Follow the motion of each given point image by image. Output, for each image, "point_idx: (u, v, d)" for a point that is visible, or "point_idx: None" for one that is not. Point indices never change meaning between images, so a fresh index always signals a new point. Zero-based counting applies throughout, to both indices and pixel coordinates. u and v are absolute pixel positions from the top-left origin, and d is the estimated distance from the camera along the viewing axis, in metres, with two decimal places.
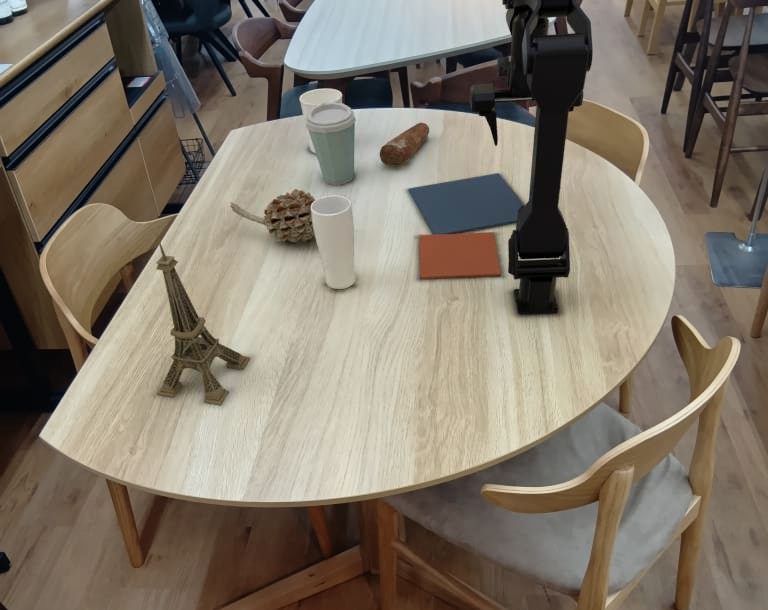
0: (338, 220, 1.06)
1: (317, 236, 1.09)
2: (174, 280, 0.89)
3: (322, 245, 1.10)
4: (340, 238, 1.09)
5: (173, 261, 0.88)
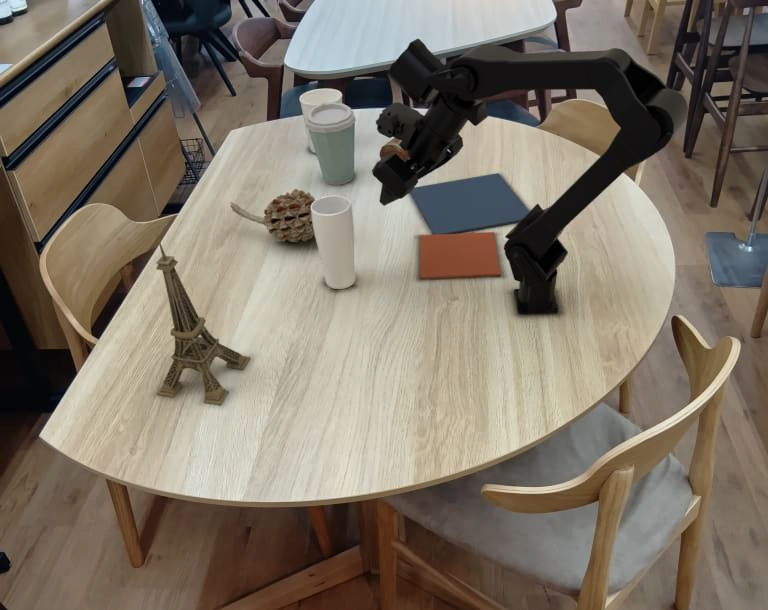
0: (338, 220, 1.06)
1: (317, 236, 1.09)
2: (174, 280, 0.89)
3: (322, 245, 1.10)
4: (340, 238, 1.09)
5: (173, 261, 0.88)
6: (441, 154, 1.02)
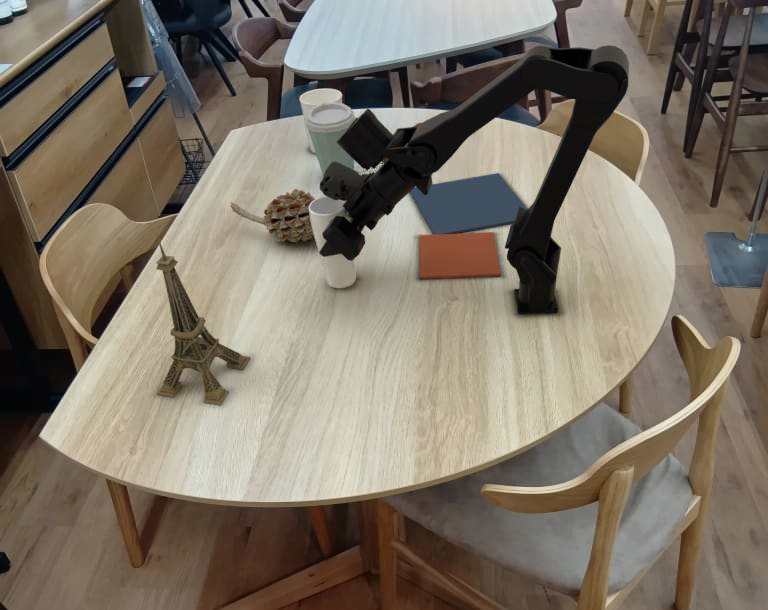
0: None
1: (316, 236, 1.10)
2: (174, 280, 0.89)
3: (322, 245, 1.10)
4: None
5: (173, 261, 0.88)
6: (383, 215, 1.06)
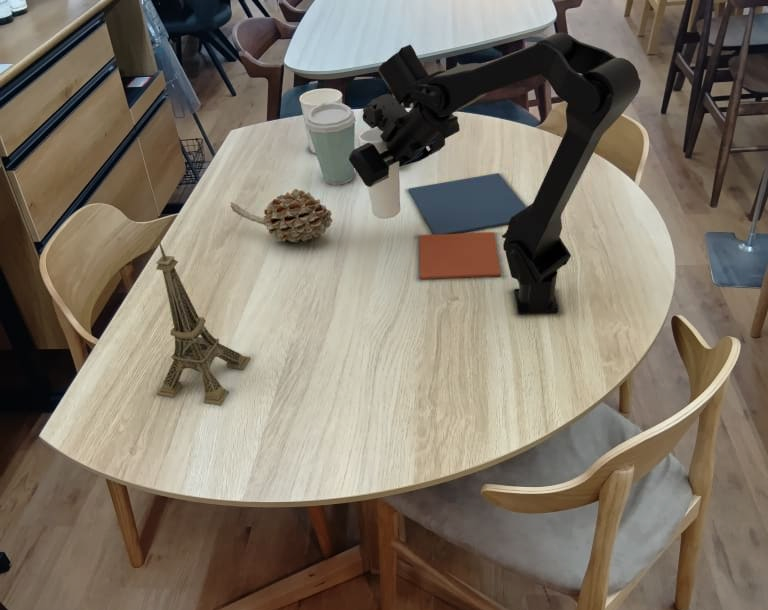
0: None
1: None
2: (174, 280, 0.89)
3: None
4: None
5: (173, 261, 0.88)
6: (415, 153, 1.10)
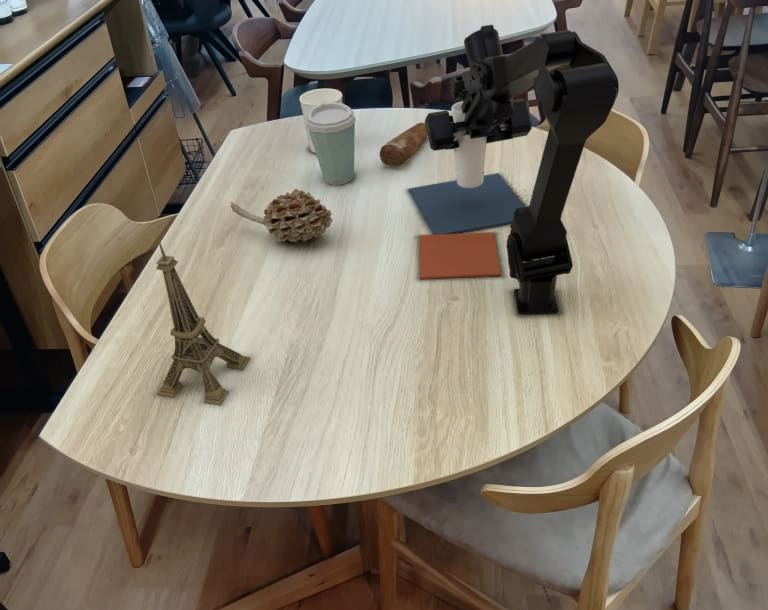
0: (459, 118, 1.21)
1: None
2: (174, 280, 0.89)
3: None
4: None
5: (173, 261, 0.88)
6: (483, 130, 1.16)
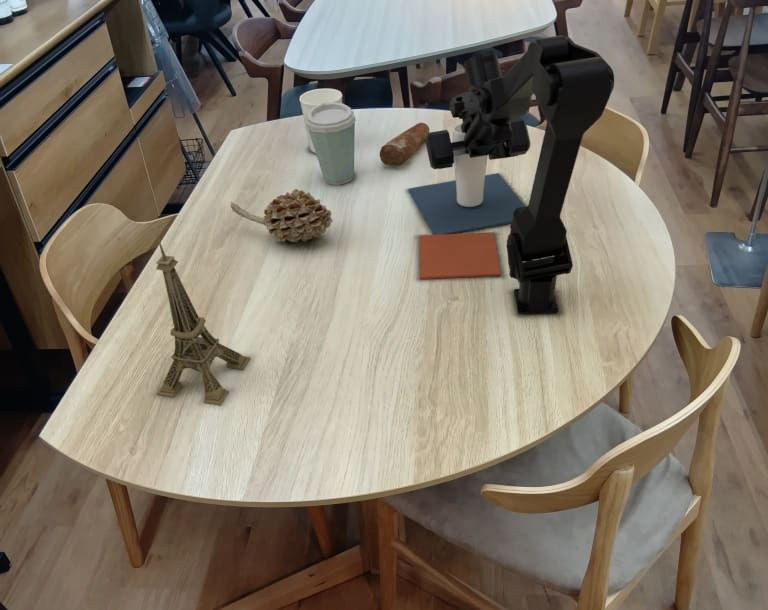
0: (460, 139, 1.24)
1: None
2: (174, 280, 0.89)
3: None
4: (460, 157, 1.26)
5: (173, 261, 0.88)
6: (482, 150, 1.18)
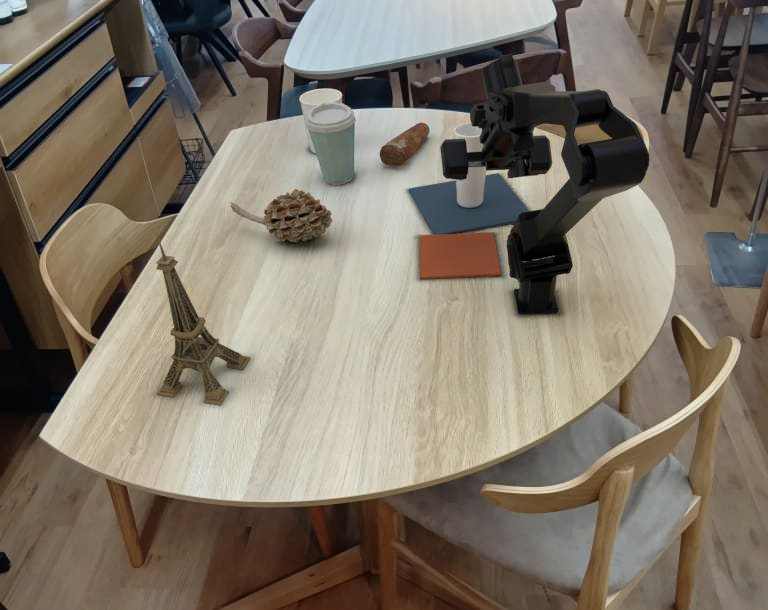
0: None
1: None
2: (174, 280, 0.89)
3: None
4: None
5: (173, 261, 0.88)
6: (499, 162, 1.10)
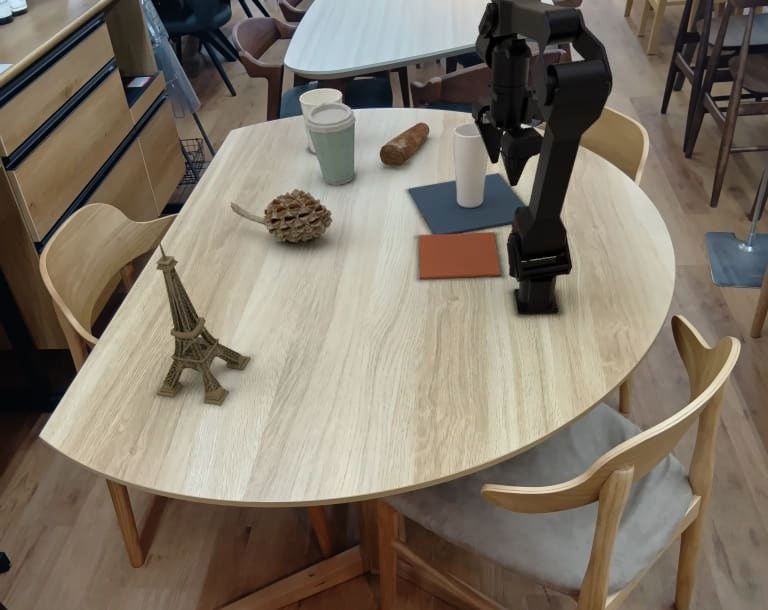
0: (461, 141, 1.23)
1: None
2: (174, 280, 0.89)
3: (454, 160, 1.29)
4: (461, 159, 1.26)
5: (173, 261, 0.88)
6: (490, 104, 1.08)
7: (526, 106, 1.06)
